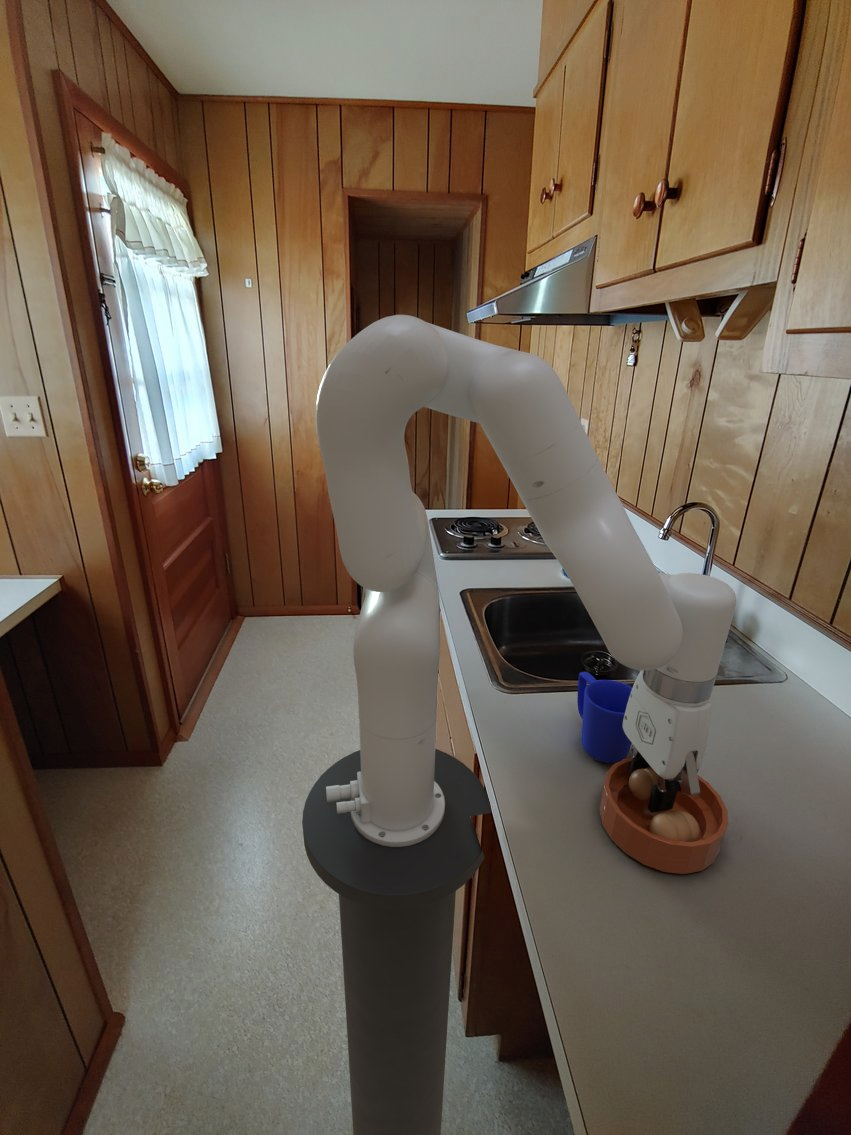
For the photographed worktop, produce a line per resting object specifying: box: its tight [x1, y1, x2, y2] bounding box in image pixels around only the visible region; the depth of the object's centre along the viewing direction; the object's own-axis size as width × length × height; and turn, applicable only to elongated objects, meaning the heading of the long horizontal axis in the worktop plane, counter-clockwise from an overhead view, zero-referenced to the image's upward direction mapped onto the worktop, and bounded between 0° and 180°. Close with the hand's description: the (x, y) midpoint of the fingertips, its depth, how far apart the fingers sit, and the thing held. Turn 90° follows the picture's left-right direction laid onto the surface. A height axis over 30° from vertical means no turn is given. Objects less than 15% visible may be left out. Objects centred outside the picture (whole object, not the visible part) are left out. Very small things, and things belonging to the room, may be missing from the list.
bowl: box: [598, 756, 729, 875], centre depth 69 cm, size 14×14×5 cm
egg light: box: [649, 811, 700, 842], centre depth 67 cm, size 6×4×4 cm, turn 102°
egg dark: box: [629, 767, 674, 802], centre depth 71 cm, size 6×4×4 cm, turn 102°
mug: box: [576, 671, 633, 764], centre depth 83 cm, size 8×12×10 cm
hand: (649, 793), depth 72 cm, fingers closed on egg dark, 4 cm apart
